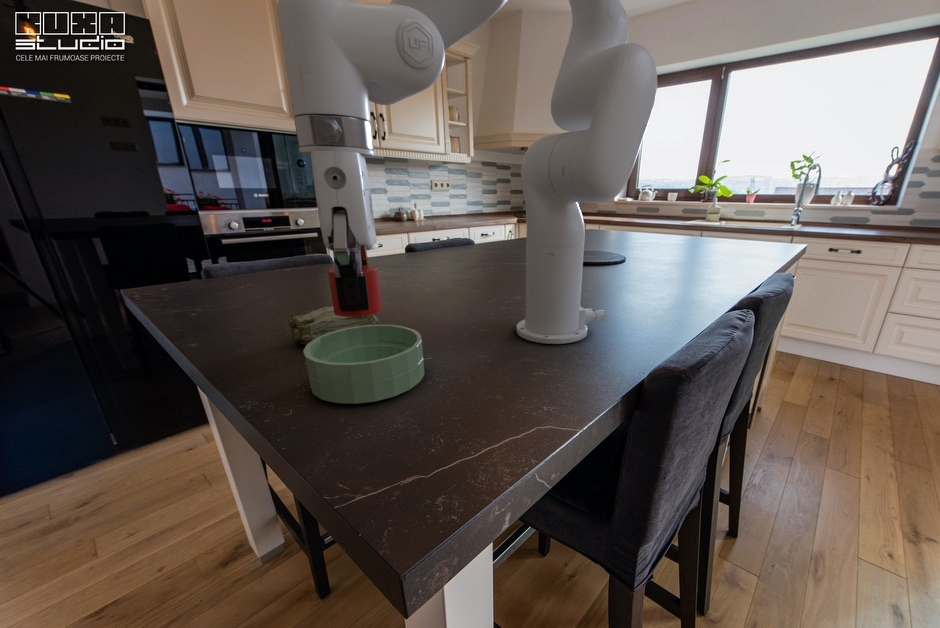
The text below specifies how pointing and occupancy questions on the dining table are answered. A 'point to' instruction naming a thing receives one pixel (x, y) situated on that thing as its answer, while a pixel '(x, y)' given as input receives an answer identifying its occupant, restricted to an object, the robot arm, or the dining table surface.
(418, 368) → the sage green round tray
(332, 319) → the olive rough flat block
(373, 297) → the red squat cylinder
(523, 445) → the dining table surface
